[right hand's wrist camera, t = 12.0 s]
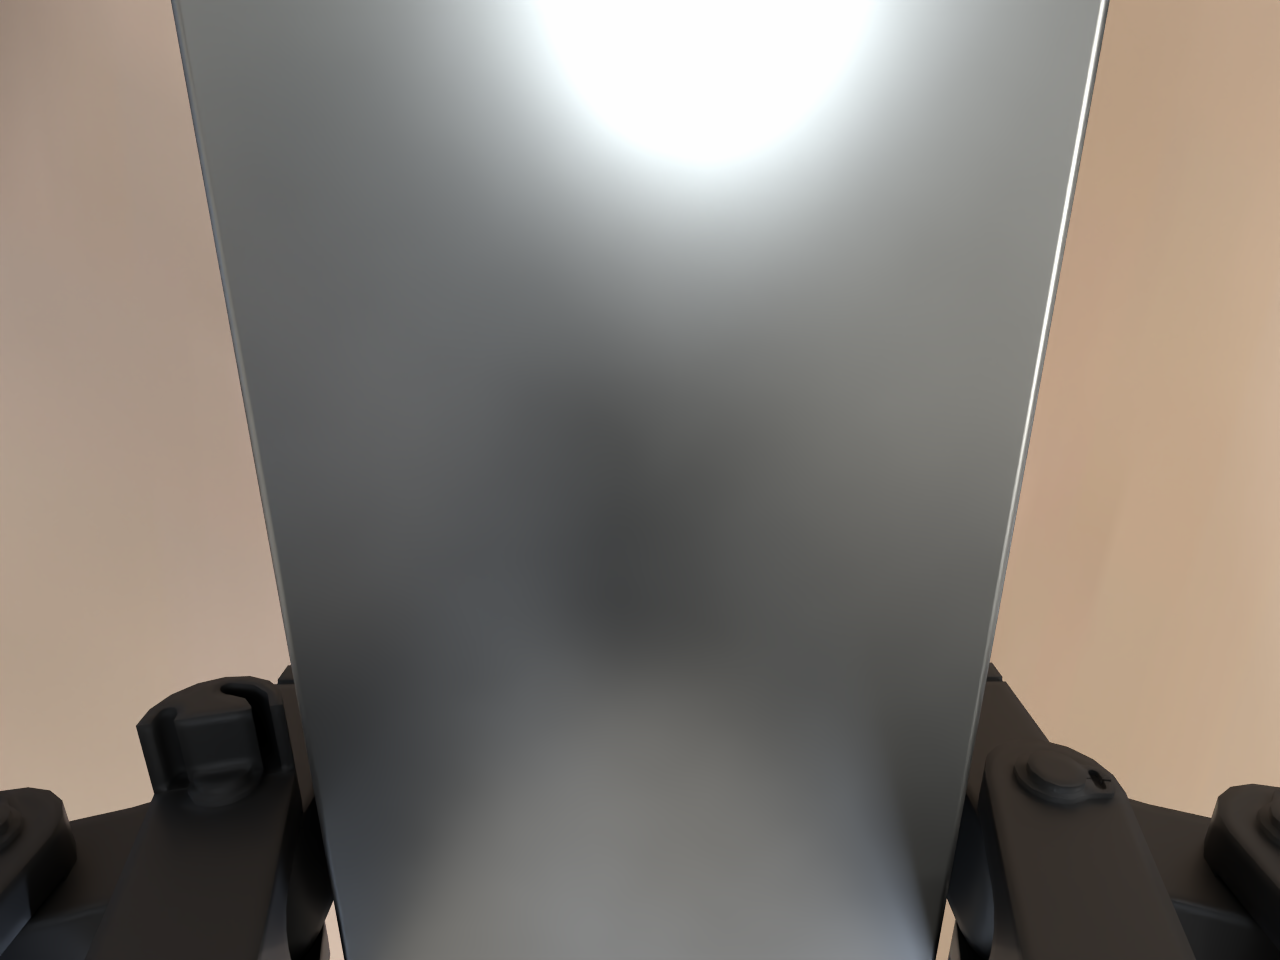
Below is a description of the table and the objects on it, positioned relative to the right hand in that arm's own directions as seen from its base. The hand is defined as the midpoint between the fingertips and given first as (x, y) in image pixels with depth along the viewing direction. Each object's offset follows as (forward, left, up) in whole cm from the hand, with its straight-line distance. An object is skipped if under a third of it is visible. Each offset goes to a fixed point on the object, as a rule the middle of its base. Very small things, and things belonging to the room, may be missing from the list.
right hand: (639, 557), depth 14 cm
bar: (-5, +9, -1) cm, 11 cm away
